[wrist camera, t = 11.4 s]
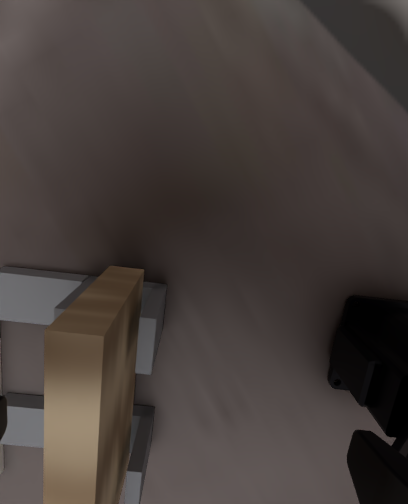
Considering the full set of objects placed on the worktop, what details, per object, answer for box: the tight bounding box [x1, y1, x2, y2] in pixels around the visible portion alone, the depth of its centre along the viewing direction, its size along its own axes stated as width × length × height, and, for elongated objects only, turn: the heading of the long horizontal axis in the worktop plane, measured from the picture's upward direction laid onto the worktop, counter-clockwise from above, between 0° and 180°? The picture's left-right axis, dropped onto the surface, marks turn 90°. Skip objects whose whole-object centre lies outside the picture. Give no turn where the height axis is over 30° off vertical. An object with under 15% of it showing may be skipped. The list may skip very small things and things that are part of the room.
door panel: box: [43, 266, 144, 504], centre depth 16 cm, size 14×2×8 cm, turn 173°
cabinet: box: [0, 266, 167, 504], centre depth 19 cm, size 15×16×5 cm
